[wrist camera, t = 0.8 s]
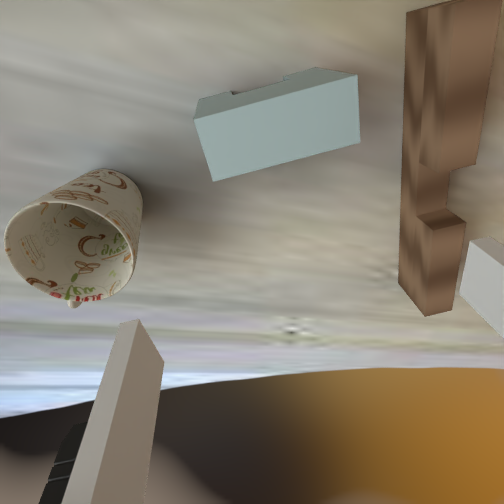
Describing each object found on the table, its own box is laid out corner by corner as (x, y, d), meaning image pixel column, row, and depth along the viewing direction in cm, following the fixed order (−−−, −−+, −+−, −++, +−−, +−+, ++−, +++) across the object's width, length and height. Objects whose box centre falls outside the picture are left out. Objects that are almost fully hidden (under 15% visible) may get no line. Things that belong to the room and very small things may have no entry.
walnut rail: (406, 12, 25) (455, 3, 20) (444, 1, 25) (504, -11, 20) (398, 283, 40) (424, 316, 35) (421, 277, 40) (451, 310, 35)
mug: (163, 171, 29) (143, 220, 21) (141, 276, 35) (119, 346, 27) (65, 143, 27) (-1, 184, 19) (59, 260, 33) (8, 331, 25)
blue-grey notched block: (198, 99, 27) (193, 119, 19) (315, 67, 26) (357, 74, 19) (213, 146, 29) (213, 181, 21) (320, 117, 28) (360, 142, 21)
